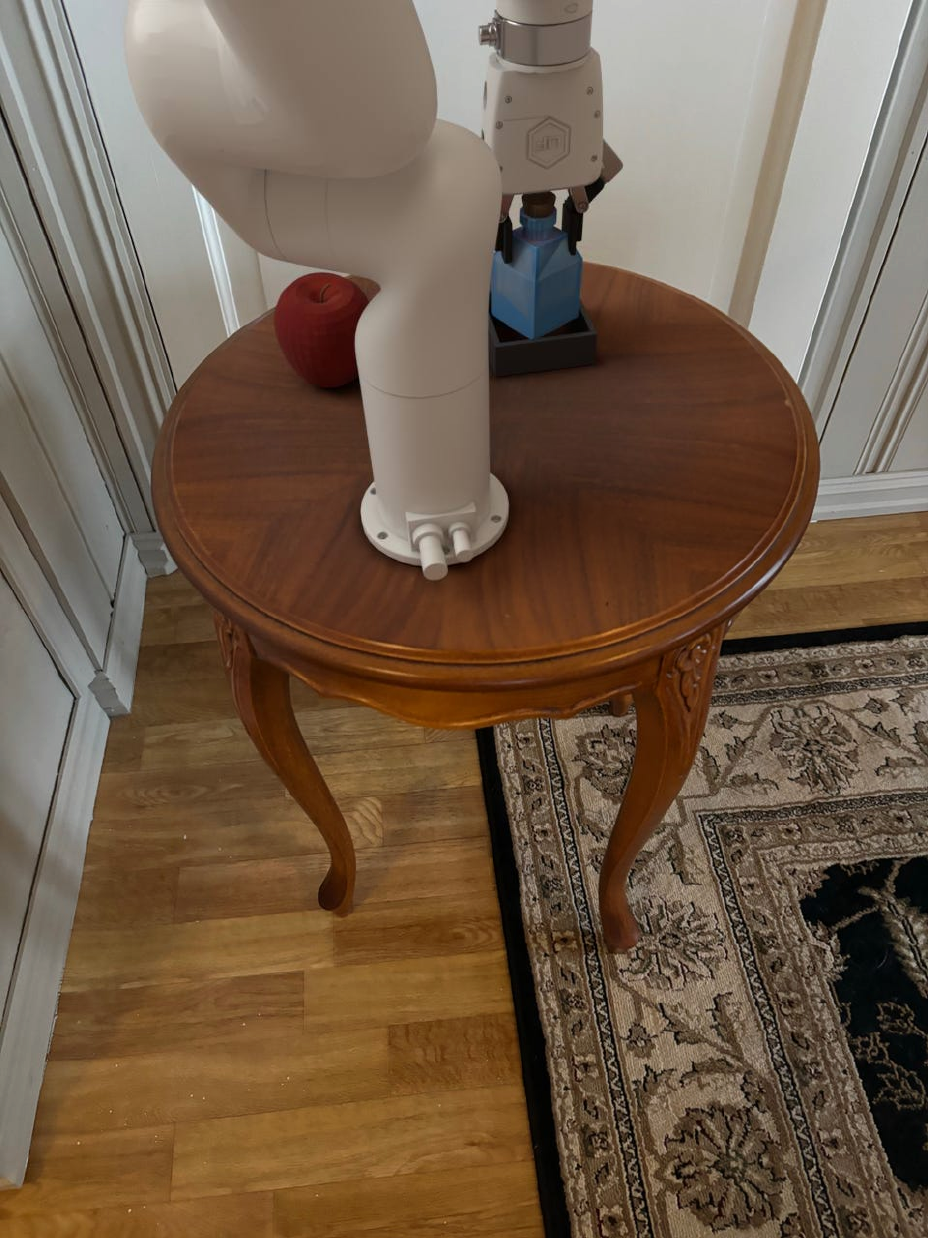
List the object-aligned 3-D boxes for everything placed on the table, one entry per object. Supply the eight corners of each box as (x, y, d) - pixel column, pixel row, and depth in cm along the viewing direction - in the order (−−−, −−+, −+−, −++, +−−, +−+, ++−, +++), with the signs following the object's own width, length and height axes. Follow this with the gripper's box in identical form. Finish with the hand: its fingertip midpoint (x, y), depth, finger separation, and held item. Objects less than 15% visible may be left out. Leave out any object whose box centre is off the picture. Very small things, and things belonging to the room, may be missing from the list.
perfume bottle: (578, 316, 90) (587, 197, 80) (533, 340, 87) (536, 220, 78) (536, 292, 93) (540, 175, 83) (491, 314, 90) (490, 196, 81)
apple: (300, 415, 86) (280, 322, 78) (276, 362, 91) (255, 271, 84) (393, 390, 88) (382, 297, 80) (363, 340, 93) (351, 249, 86)
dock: (594, 364, 89) (597, 333, 87) (495, 377, 89) (495, 346, 86) (569, 309, 96) (571, 279, 93) (476, 321, 95) (475, 291, 92)
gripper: (444, 64, 68) (454, 284, 82) (662, 41, 69) (635, 261, 83) (430, 30, 72) (441, 244, 86) (633, 9, 74) (613, 223, 88)
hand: (536, 250), depth 85 cm, fingers closed on perfume bottle, 5 cm apart
